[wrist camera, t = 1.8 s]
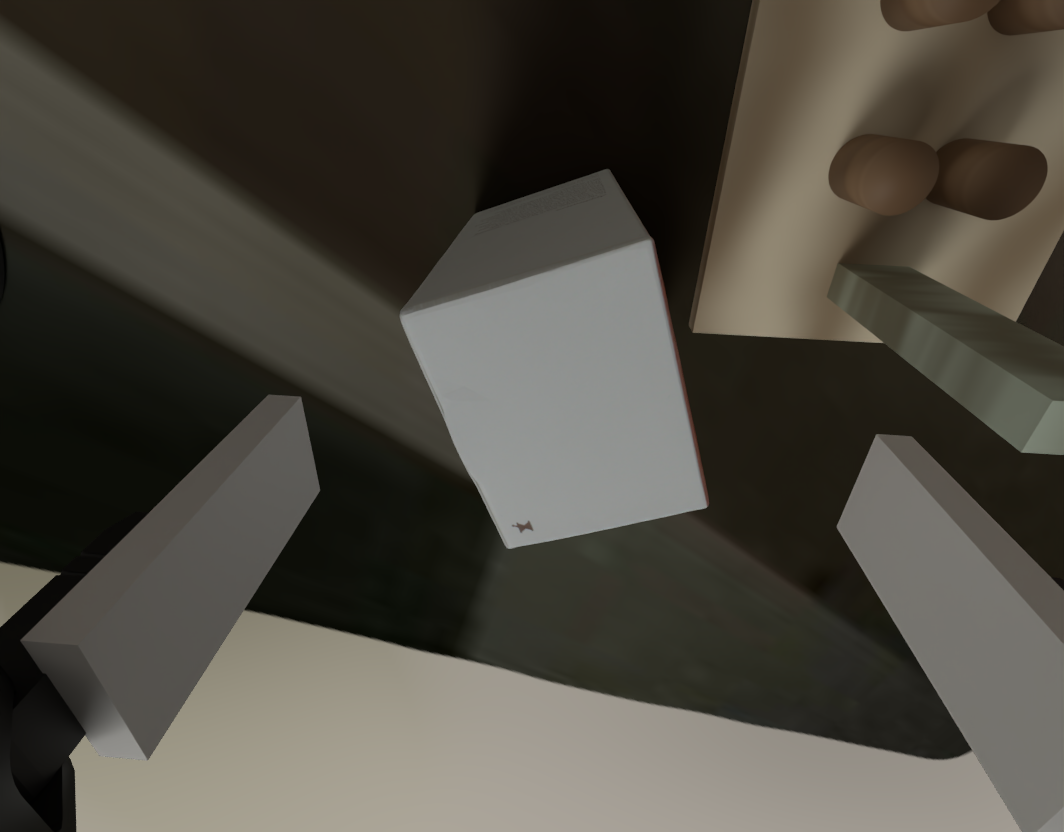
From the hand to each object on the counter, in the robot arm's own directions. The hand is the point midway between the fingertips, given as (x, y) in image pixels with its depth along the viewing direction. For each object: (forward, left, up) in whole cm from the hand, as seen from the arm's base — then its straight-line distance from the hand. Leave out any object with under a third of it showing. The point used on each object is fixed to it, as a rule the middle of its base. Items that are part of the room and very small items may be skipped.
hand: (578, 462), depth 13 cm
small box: (0, 0, -15) cm, 15 cm away
